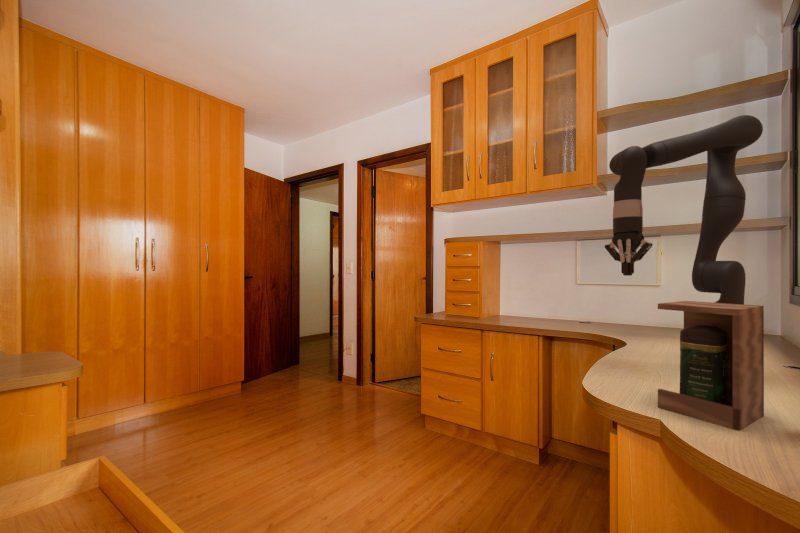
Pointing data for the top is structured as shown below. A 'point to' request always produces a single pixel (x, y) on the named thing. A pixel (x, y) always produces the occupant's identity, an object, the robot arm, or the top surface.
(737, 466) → the top surface
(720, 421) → the walnut cubby
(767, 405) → the top surface
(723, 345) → the coffee jar
